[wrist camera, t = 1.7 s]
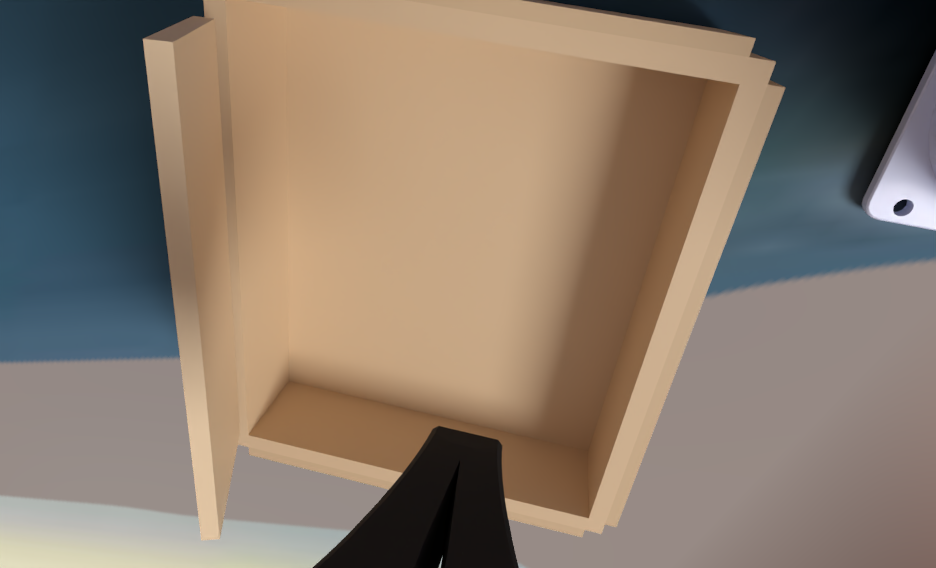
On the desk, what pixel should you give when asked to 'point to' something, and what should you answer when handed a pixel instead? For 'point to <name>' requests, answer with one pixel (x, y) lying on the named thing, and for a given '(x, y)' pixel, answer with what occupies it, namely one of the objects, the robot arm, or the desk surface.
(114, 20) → the desk surface
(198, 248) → the carton flap
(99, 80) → the desk surface
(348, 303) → the carton
